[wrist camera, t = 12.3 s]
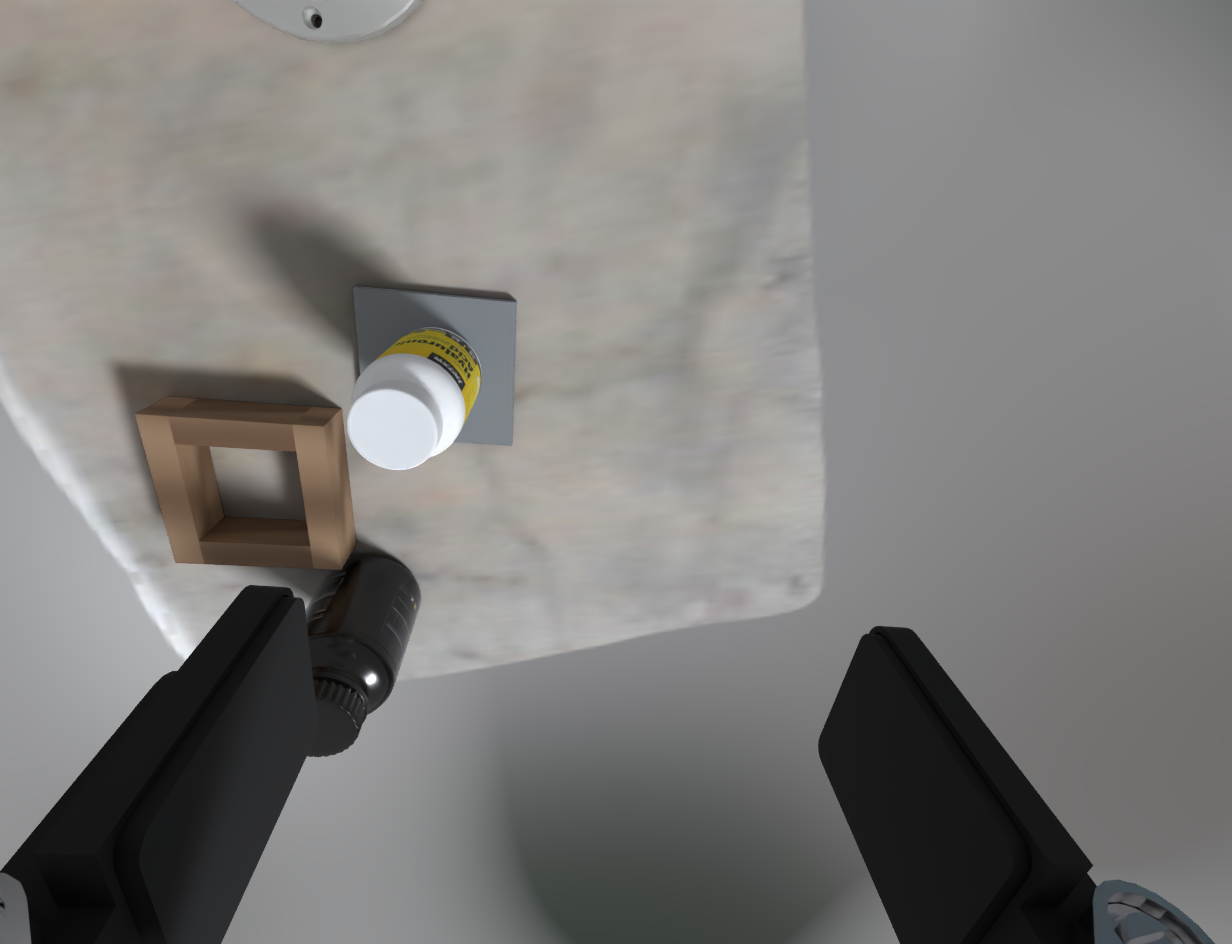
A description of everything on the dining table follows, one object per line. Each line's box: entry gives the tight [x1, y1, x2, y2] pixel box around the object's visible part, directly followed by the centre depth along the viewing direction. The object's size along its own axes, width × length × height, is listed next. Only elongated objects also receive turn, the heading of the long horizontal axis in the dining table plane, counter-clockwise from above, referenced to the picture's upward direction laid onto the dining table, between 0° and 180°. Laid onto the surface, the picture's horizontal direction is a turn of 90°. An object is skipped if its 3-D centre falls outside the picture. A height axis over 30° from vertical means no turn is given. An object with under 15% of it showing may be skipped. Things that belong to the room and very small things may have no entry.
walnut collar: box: [135, 396, 356, 570], centre depth 36 cm, size 10×10×3 cm
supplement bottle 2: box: [305, 555, 421, 757], centre depth 37 cm, size 7×7×12 cm
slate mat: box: [352, 286, 517, 446], centre depth 35 cm, size 9×9×1 cm
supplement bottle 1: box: [347, 327, 482, 470], centre depth 31 cm, size 5×5×10 cm
